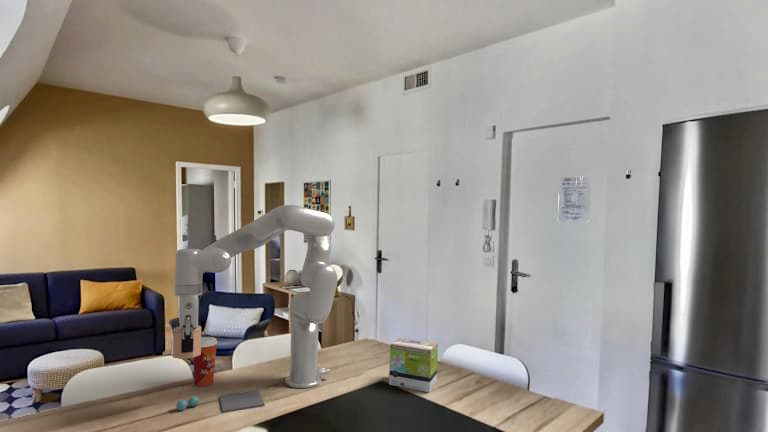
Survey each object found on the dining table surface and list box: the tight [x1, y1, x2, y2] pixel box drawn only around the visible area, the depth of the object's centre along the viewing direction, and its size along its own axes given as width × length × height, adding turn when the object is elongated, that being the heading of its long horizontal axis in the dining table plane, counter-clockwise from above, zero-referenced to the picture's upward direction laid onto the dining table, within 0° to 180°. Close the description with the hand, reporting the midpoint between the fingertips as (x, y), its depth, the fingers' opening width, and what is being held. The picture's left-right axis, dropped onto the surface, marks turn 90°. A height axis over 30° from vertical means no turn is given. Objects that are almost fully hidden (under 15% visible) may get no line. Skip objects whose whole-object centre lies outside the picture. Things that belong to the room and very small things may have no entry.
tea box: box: [388, 337, 439, 393], centre depth 150 cm, size 15×10×15 cm
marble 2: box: [187, 395, 200, 407], centre depth 128 cm, size 3×3×3 cm
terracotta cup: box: [172, 324, 202, 360], centre depth 128 cm, size 8×8×8 cm
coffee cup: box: [192, 336, 218, 387], centre depth 147 cm, size 8×8×15 cm
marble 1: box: [175, 399, 188, 411], centre depth 125 cm, size 3×3×3 cm
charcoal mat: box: [219, 389, 266, 413], centre depth 132 cm, size 12×12×1 cm
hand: (187, 348), depth 128 cm, fingers closed on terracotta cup, 7 cm apart
